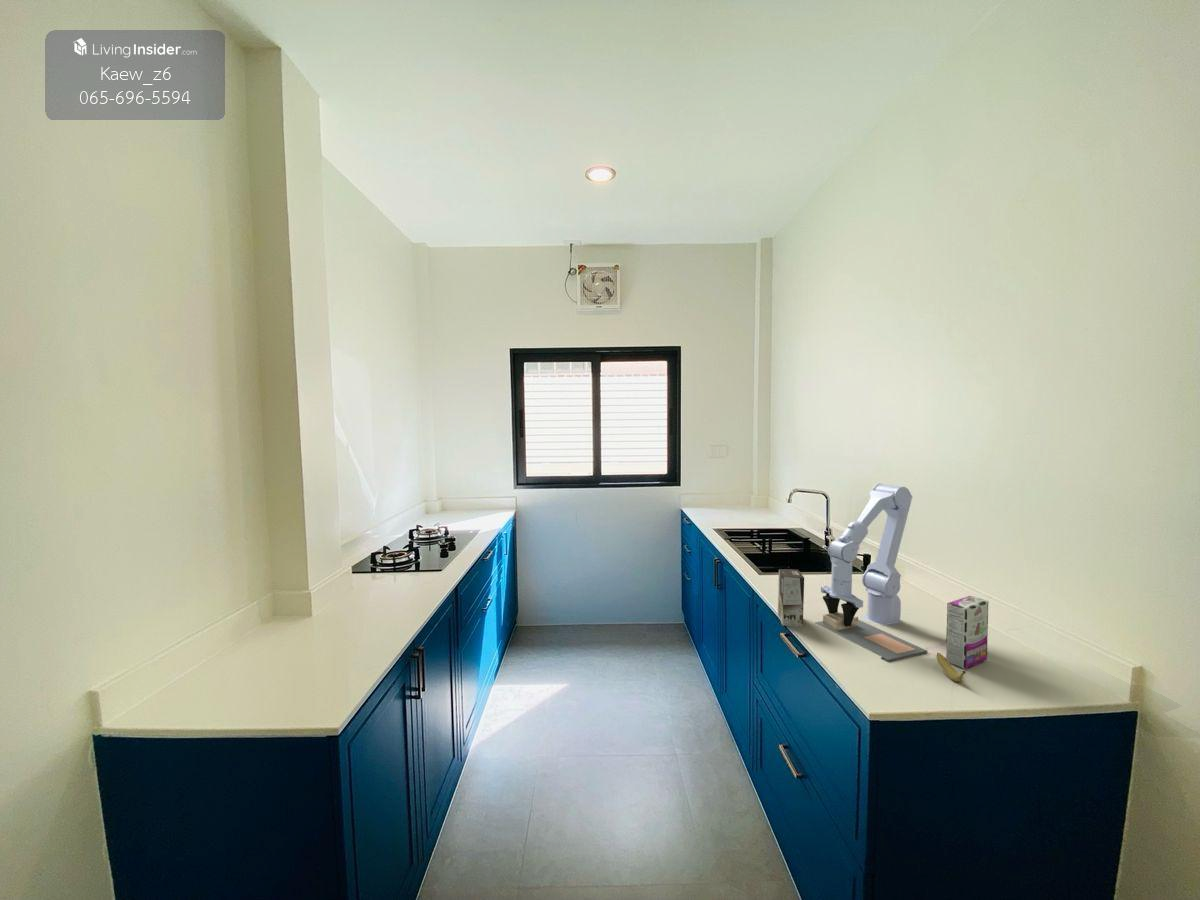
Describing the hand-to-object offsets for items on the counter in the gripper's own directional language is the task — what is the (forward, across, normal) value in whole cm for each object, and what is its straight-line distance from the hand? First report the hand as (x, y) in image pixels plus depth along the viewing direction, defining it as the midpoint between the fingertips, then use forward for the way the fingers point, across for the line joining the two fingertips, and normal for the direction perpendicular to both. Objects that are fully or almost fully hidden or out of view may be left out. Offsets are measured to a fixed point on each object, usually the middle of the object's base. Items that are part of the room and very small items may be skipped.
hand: (840, 622), depth 153 cm
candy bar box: (+2, +28, +14) cm, 32 cm away
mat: (+2, +8, +2) cm, 9 cm away
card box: (+1, 0, 0) cm, 1 cm away
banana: (+2, +32, +2) cm, 33 cm away
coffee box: (+2, -8, -12) cm, 15 cm away
